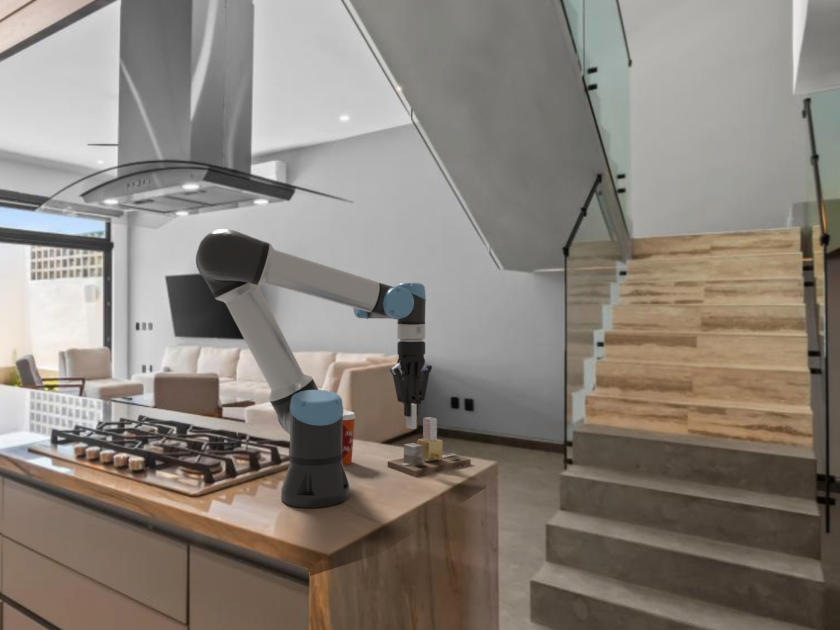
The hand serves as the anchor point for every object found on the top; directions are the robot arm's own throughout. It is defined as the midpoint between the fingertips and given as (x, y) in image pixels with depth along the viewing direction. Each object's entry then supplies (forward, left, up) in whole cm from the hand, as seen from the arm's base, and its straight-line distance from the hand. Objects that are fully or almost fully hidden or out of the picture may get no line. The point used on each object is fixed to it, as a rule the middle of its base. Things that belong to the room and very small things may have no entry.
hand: (411, 427), depth 148 cm
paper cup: (-11, +17, -11) cm, 23 cm away
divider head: (+7, -1, -9) cm, 11 cm away
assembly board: (+7, 0, -11) cm, 13 cm away
